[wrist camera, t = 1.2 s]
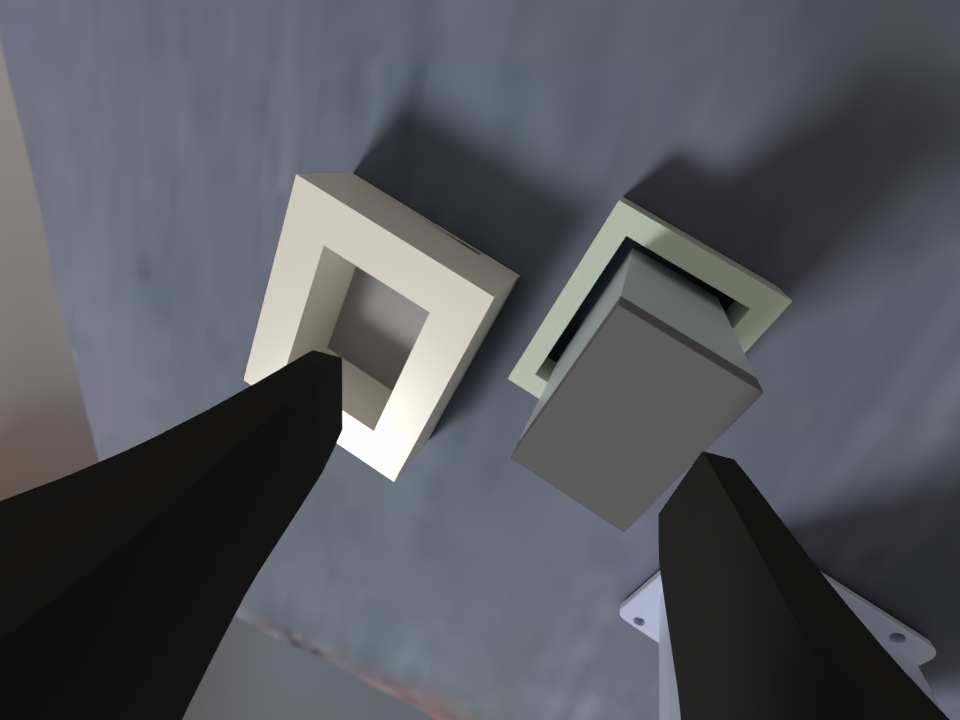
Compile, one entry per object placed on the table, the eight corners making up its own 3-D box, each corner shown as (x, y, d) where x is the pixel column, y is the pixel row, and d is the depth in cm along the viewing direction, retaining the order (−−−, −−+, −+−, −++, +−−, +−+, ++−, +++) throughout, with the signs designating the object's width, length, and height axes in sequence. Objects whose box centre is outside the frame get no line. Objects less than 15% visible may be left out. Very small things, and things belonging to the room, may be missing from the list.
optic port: (520, 275, 19) (492, 299, 15) (427, 440, 23) (391, 485, 20) (352, 172, 19) (291, 174, 16) (295, 352, 24) (239, 382, 21)
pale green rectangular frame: (777, 286, 16) (792, 301, 14) (643, 437, 20) (642, 464, 18) (622, 196, 16) (619, 200, 15) (520, 360, 20) (507, 378, 18)
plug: (717, 297, 17) (763, 393, 10) (634, 397, 19) (624, 532, 12) (632, 247, 17) (618, 304, 10) (561, 352, 19) (510, 457, 12)
